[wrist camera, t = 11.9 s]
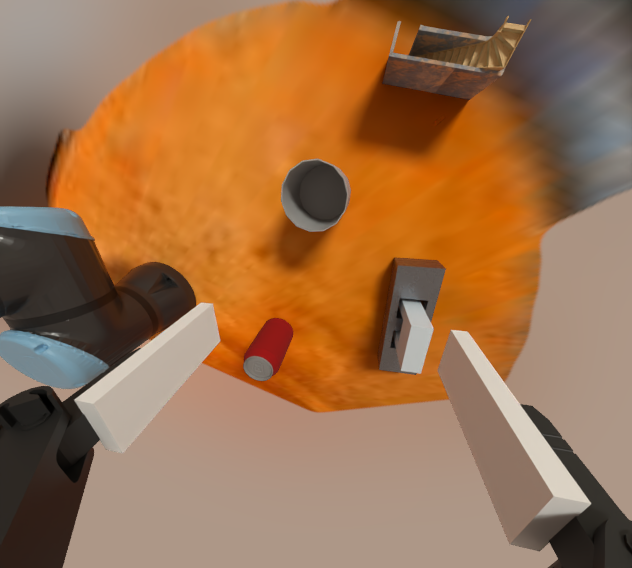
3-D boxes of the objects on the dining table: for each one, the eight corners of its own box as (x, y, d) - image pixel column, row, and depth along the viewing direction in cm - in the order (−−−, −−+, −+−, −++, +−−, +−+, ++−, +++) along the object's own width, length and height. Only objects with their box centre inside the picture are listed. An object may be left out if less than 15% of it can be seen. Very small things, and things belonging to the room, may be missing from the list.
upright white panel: (407, 332, 44) (420, 373, 35) (392, 331, 45) (400, 370, 35) (416, 294, 41) (433, 328, 31) (399, 292, 41) (411, 325, 32)
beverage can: (265, 337, 51) (240, 379, 41) (265, 313, 49) (238, 351, 38) (293, 343, 51) (275, 387, 40) (295, 319, 48) (276, 359, 37)
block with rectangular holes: (377, 355, 48) (379, 369, 44) (394, 257, 39) (397, 265, 35) (411, 360, 47) (416, 374, 43) (437, 260, 38) (445, 268, 34)
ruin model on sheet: (479, 70, 28) (535, 19, 19) (467, 100, 29) (514, 66, 20) (389, 54, 29) (403, -1, 20) (382, 84, 30) (391, 45, 21)
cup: (330, 229, 39) (322, 244, 30) (291, 201, 38) (270, 208, 29) (361, 184, 35) (362, 186, 26) (317, 152, 34) (303, 142, 25)
